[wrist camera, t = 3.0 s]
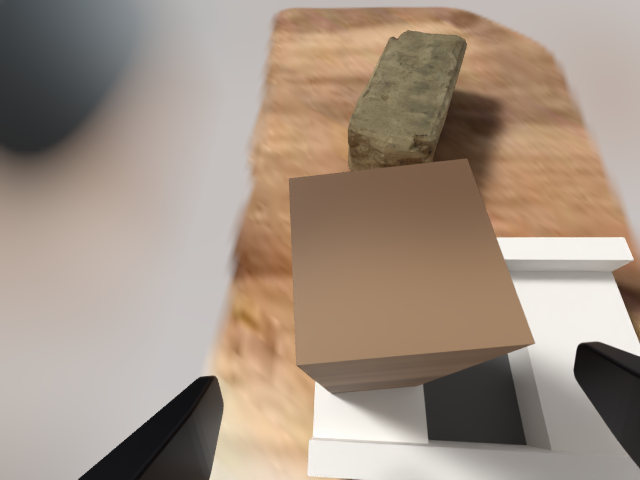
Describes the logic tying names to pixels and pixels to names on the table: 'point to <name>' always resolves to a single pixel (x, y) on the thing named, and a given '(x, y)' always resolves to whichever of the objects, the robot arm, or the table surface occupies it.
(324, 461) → the walled channel
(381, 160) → the stone block
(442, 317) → the walnut block
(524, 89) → the table surface
